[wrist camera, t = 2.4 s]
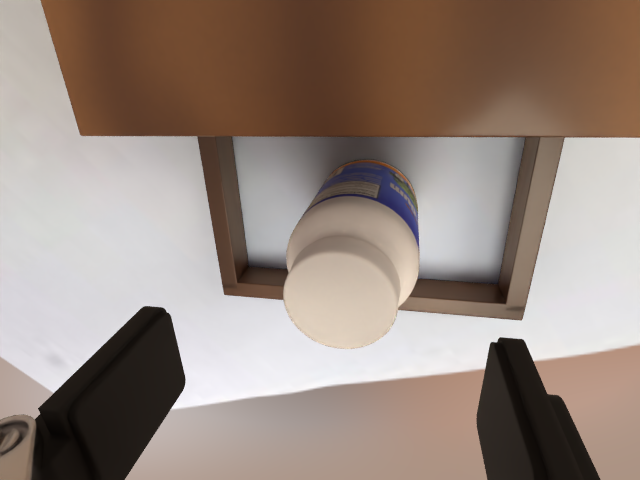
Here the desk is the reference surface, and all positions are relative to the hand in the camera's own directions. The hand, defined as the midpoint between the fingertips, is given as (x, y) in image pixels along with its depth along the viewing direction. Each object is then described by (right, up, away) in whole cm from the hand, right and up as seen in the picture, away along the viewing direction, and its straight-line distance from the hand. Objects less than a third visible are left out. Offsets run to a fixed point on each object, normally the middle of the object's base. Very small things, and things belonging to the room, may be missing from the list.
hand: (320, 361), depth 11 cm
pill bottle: (+3, +6, +11) cm, 12 cm away
